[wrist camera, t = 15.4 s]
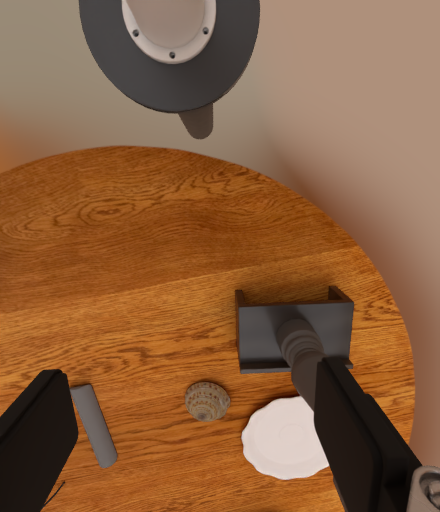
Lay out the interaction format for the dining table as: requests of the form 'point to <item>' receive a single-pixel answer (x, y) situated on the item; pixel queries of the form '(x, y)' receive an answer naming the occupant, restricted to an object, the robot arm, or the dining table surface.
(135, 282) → the dining table surface
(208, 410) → the seashell
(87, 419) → the half round rod
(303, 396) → the candle holder
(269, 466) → the plate
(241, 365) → the block with raised lip
